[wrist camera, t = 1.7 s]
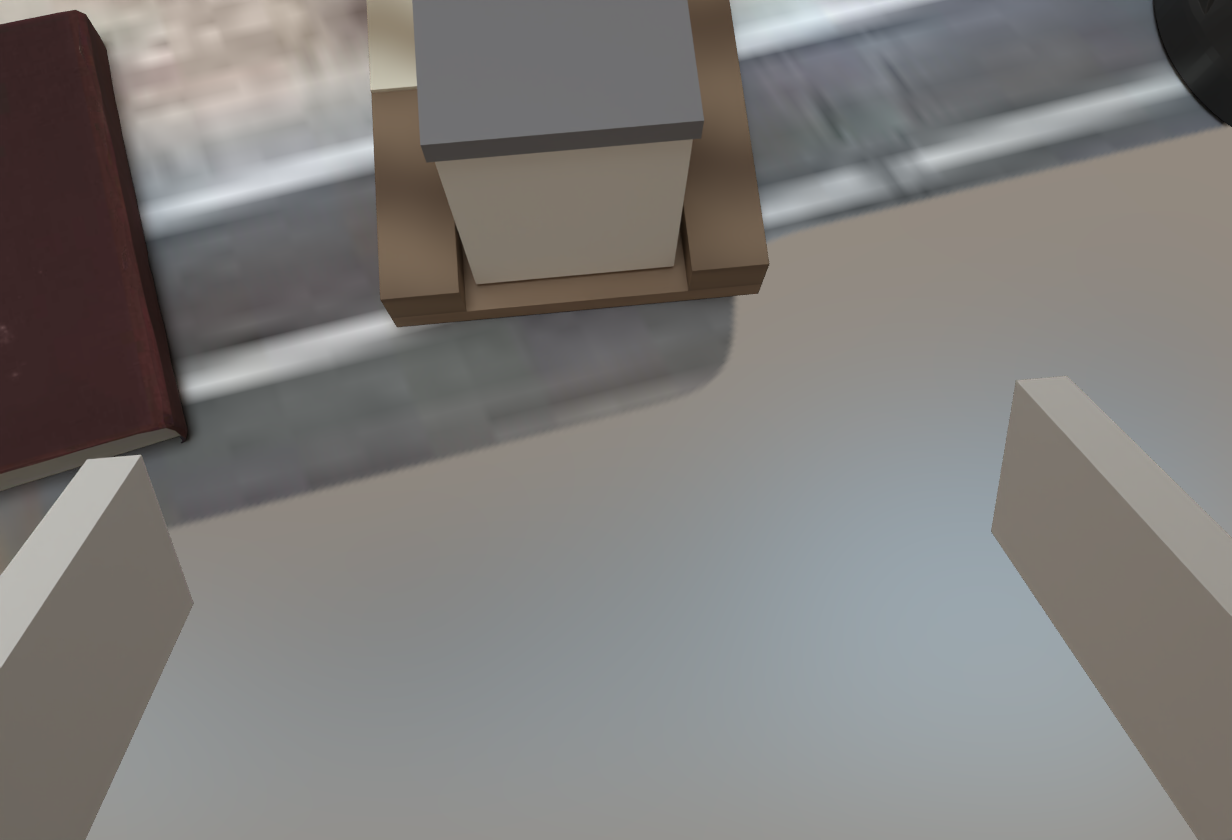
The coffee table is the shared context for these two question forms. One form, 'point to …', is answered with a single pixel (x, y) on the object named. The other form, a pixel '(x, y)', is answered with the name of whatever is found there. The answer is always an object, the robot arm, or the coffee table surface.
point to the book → (72, 264)
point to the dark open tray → (446, 290)
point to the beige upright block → (559, 130)
